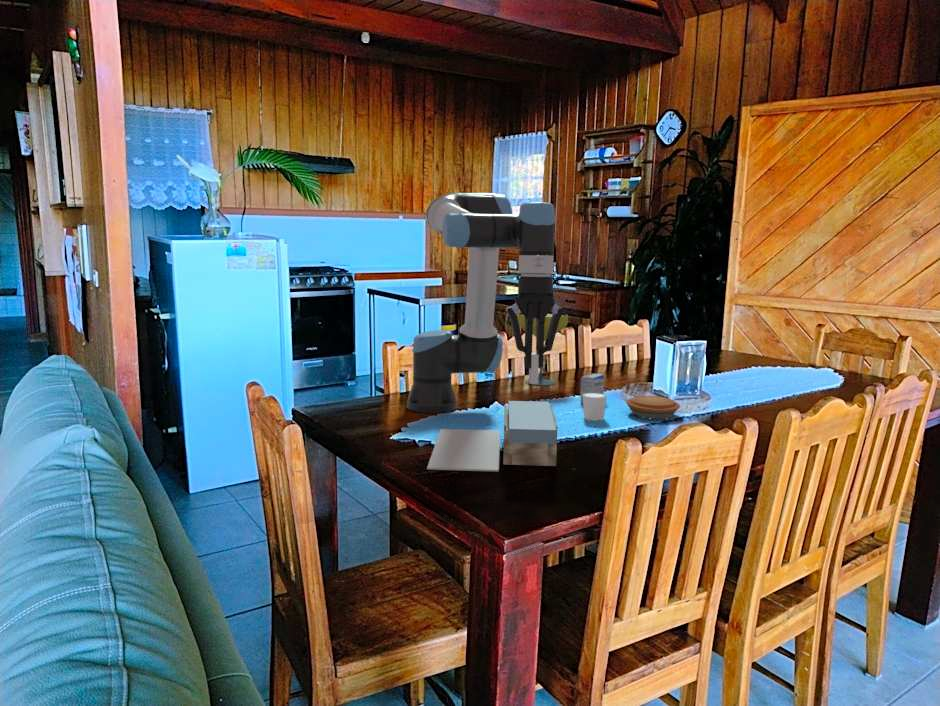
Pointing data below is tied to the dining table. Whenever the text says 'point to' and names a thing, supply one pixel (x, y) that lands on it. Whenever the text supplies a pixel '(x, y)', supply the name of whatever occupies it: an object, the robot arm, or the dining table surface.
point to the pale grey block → (531, 422)
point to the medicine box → (592, 384)
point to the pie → (652, 407)
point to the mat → (466, 450)
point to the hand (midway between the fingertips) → (533, 382)
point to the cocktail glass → (561, 325)
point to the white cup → (594, 406)
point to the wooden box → (528, 449)
